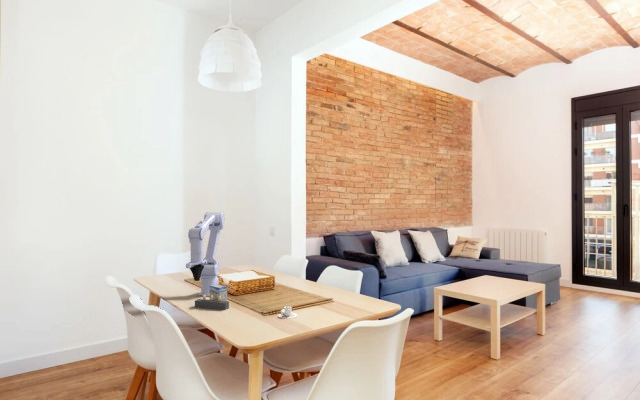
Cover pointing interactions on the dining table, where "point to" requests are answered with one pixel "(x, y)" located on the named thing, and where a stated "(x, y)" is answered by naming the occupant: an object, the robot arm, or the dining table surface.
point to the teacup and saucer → (287, 312)
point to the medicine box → (218, 292)
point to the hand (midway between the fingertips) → (196, 280)
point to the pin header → (212, 303)
